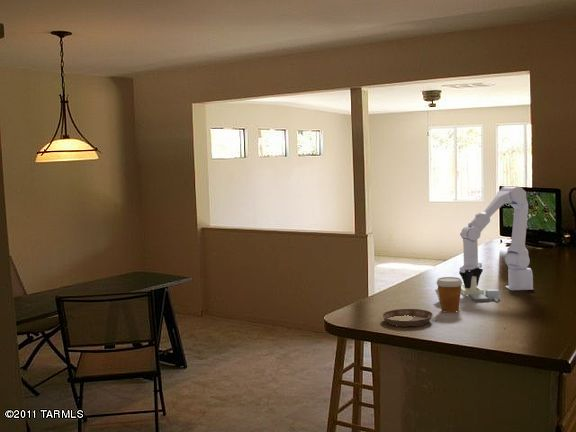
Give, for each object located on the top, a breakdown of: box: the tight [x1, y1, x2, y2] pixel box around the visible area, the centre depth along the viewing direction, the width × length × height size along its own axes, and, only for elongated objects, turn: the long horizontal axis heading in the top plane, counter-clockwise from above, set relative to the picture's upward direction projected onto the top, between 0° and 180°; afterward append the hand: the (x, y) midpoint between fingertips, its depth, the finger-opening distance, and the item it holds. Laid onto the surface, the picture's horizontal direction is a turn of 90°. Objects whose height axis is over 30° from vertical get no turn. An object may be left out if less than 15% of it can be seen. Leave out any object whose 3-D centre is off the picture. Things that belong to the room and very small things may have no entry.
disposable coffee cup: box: [435, 276, 464, 313], centre depth 226 cm, size 10×10×12 cm
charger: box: [466, 276, 477, 290], centre depth 254 cm, size 4×4×7 cm
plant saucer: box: [381, 308, 434, 327], centre depth 214 cm, size 18×18×3 cm
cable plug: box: [484, 288, 500, 303], centre depth 240 cm, size 4×8×4 cm, turn 177°
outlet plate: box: [460, 284, 485, 296], centre depth 256 cm, size 8×12×2 cm, turn 177°
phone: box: [468, 293, 490, 303], centre depth 242 cm, size 6×9×1 cm, turn 177°
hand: (471, 286), depth 254 cm, fingers closed on charger, 5 cm apart
